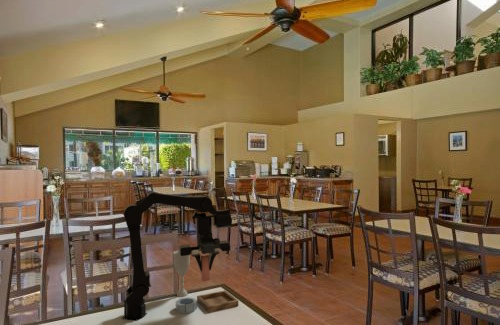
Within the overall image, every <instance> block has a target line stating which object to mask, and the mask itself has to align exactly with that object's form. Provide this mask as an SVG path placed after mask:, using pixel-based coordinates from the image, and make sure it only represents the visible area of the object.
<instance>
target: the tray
mask: <svg viewBox="0 0 500 325" xmlns="http://www.w3.org/2000/svg"><path fill="white" fill-rule="evenodd" d="M196 300H197V303H199V305H200V306H202V308H203V309H204V310H205V311H206V312H207V314H208V313H213V312H218V311H223V310H226V309H230V308H234V307H235V308H236V307H239V300H238V299H237V298H236V297H235V296H233V295H232V294H230V293H229V292H228V291H227V290H221V291H215V292H211V293H210V292H209V293H207V294H206V293H205V294H200V295H197V296H196Z"/></svg>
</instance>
